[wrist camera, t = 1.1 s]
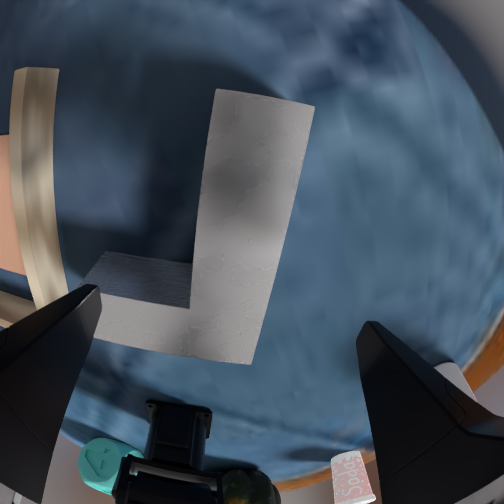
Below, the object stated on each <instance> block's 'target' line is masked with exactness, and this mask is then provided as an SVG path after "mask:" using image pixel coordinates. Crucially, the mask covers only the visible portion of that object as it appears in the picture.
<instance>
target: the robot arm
mask: <svg viewBox="0 0 504 504" xmlns="http://www.w3.org/2000/svg"><path fill="white" fill-rule="evenodd" d="M101 312H102V301H101V295H100V289H99V287H98V286H97V285H94V284H89V283H87V284H85V285H83V286H81V287H79V288H77V289H75V290H73V291H72V292H70V293H68V294H66V295H64V296H62V297H60V298H58V299H57V300H55V301H53V302H51V303H49V304H48V305H46V306H44V307H42V308H40V309H38V310H37V311H35V312H33V313H31V314H30V315H28V316H26V317H24V318H23V319H21V320H19V321H17V322H16V323H14V324H12V325H10V326H9V327H7V328H5V329H4V330H2V331H0V504H14V502H13V500H14V496H15V492H17V493H18V494H20V495H22V496H24V497H26V498H28V499H30V500H31V501H34V502H36V503H37V504H41V502H42V497H43V492H44V488H45V483H46V478H47V474H48V470H49V466H50V462H51V459H52V455H53V454H52V453H53V451H54V447H55V444H56V440H57V437H58V433H59V430H60V427H61V424H62V421H63V418H64V415H65V412H66V409H67V406H68V403H69V401H70V398H71V395H72V392H73V390H74V387H75V384H76V382H77V379H78V377H79V374H80V371H81V369H82V366H83V364H84V362H85V359H86V357H87V354H88V352H89V349H90V346H91V343H92V340H93V337H94V333H95V330H96V327H97V324H98V321H99V318H100V315H101ZM356 347H357V354H358V362H359V370H360V378H361V383H362V388H363V393H364V397H365V402H366V407H367V411H368V416H369V421H370V427H371V432H372V437H373V443H374V449H375V455H376V461H377V467H378V473H379V480H380V489H381V497H382V504H504V417H500V416H497V415H494V414H493V413H491V412H490V411H488V410H487V409H486V408H484V407H483V406H482V405H480V404H479V403H477V402H476V401H475V400H473V399H472V398H471V397H469V396H468V395H467V394H465V393H464V392H463V391H461V390H460V389H459V388H458V387H456V386H455V385H454V384H453V383H452V382H450V381H449V380H448V379H447V378H446V377H445V378H444V376H443V375H442V374H441V373H440V372H438V371H437V370H436V369H435V368H434V367H432V366H431V365H430V364H429V363H428V362H426V361H425V360H424V359H423V358H422V357H420V356H419V355H418V354H417V353H416V352H414V351H413V350H412V349H411V348H409V347H408V346H407V345H406V344H405V343H403V342H402V341H401V340H400V339H398V338H397V337H396V336H395V335H394V334H392V333H391V332H390V331H389V330H387V329H386V328H385V327H384V326H382V325H381V324H380V323H379V322H377V321H366V322H365V324H364V325H363V327H362V329H361V331H360V333H359V335H358V337H357V340H356ZM145 406H146V410H147V414H148V418H149V422H150V428H149V433H148V438H147V443H146V448H145V453H144V458H140V457H136V456H134V455H132V454H129V453H128V455H127V457H122V458H121V463H120V467H119V471H118V474H117V477H116V480H115V483H114V485H113V488H112V492H111V495H112V496H113V498H114V499H115V503H116V504H224V498H223V487H222V474H221V472H208V471H203V469H204V455H205V441H206V439H207V438H209V434H210V428H211V421H212V411H210V410H206V409H198V408H191V407H184V406H178V405H172V404H167V403H161V402H156V401H151V400H147V401H146V404H145ZM134 472H135V473H137V476H136V475H134Z"/></svg>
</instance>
